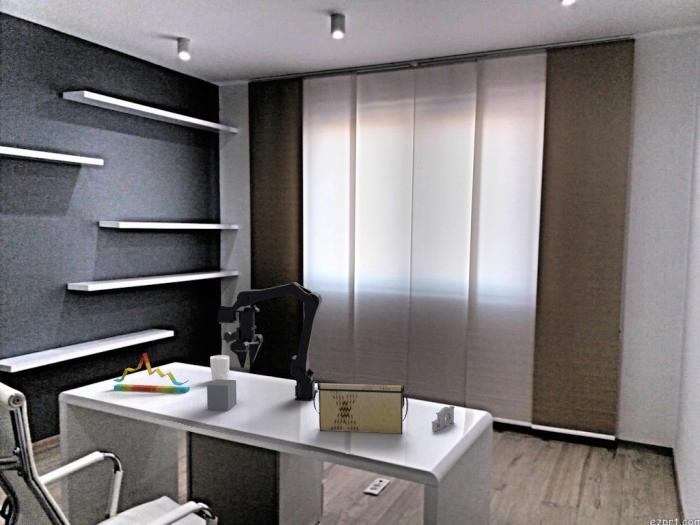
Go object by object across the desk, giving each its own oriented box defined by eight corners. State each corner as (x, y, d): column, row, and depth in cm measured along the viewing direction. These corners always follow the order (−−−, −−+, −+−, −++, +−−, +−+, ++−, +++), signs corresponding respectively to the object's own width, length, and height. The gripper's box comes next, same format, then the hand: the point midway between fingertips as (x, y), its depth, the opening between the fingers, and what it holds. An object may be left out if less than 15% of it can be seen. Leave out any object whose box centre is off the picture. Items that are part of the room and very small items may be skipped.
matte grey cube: (236, 404, 205) (236, 380, 205) (228, 410, 197) (227, 385, 197) (216, 403, 206) (215, 379, 206) (207, 409, 199) (206, 384, 198)
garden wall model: (435, 432, 175) (435, 413, 175) (430, 430, 176) (430, 412, 176) (455, 422, 184) (455, 403, 184) (450, 420, 186) (450, 402, 185)
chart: (189, 391, 223) (189, 353, 223) (186, 393, 220) (185, 355, 219) (118, 388, 228) (117, 351, 227) (113, 390, 225) (112, 353, 224)
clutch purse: (408, 428, 179) (408, 380, 178) (408, 435, 172) (408, 386, 172) (316, 424, 183) (315, 378, 183) (311, 431, 176) (311, 384, 176)
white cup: (227, 383, 234) (227, 359, 234) (208, 383, 234) (207, 359, 234) (231, 378, 242) (231, 355, 241) (213, 378, 242) (212, 355, 242)
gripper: (236, 319, 224) (236, 358, 225) (215, 327, 206) (216, 370, 206) (263, 320, 222) (263, 359, 222) (245, 328, 203) (245, 371, 204)
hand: (247, 365), depth 214 cm, fingers open, 9 cm apart
